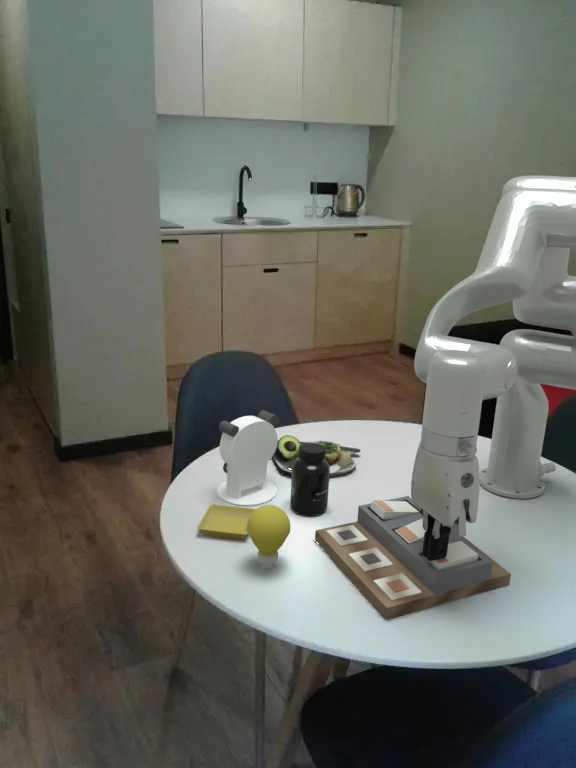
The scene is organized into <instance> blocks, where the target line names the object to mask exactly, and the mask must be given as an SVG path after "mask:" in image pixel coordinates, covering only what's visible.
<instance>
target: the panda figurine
mask: <svg viewBox="0 0 576 768" xmlns="http://www.w3.org/2000/svg"><path fill="white" fill-rule="evenodd" d="M279 424H280V418H279V416H278V415H276V414H275V413H271V412H270V411H267V410H264V409H262V410H261V411H259V413H258V415H257V416H255V415H244V416H241V417H238V418H236V419H234V420H232V421H231V422H229V421H227V420H222V421H221V422H220V423H219V425H218V430H219V431H220V432H221V433H222V434H221V437H220V442H219V454H220V457H221V459H222V460H223V462H224V463H223V465H222V470H223V472H224V473H225V474H226V480H225V481H224V482H223V481H222V483H220V484H219V486H218V487H217V490H216V493H217V494H216V495H217V497H218V498H219V499H220V500H221V501H222V502H225V503H227V504H229V505H231V506H235V507H257V506H262V505H264V503H265V504H267V503H266V502H268V501H270V500H271V499H273V498H274V497H275V495H276V496H277V494H278V493H277V491H278V489H277V487H276V486H275V485H274V484H273V483H272V482H270V481H269V480H267V470H268V463H269V462H270V460H271V458H272V456H273V454H274V452H275V450H276V448H277V444H278V441H279V439H278V434H277V433H278V432H277V431H276V428H277V427H278V426H279ZM272 459H273V458H272ZM276 493H277V494H276ZM275 498H276V497H275ZM275 498H274V499H275ZM274 499H273V500H274ZM271 501H272V500H271ZM271 501H270V502H271ZM268 503H269V502H268ZM261 504H262V505H261Z"/></svg>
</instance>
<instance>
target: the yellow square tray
mask: <svg viewBox="0 0 576 768" xmlns="http://www.w3.org/2000/svg"><path fill="white" fill-rule="evenodd" d="M256 509H257V508H251V507H245V506H236V505H223V504H217V503H212V504H210V505H209V506H208V507H207V508H206V511H205V513H204V515H203V517H202V518H201V520H200V522H199V523H198V525H197V527H196V529H197V530H198V532H200V533H201V534H203V535H205V536H212V537H218V538H219V537H220V538H227V539H235V540H236V539H237V540H244V539H245V537H246V536H247V535H249V534H248V532H247V524H248V519H249V517H250V515H251V514H252V513H253V511H255V510H256Z"/></svg>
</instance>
